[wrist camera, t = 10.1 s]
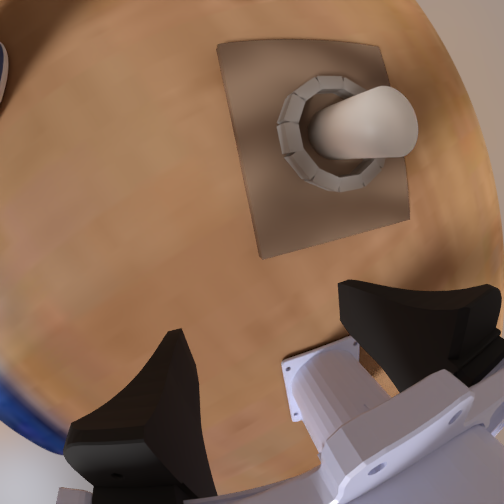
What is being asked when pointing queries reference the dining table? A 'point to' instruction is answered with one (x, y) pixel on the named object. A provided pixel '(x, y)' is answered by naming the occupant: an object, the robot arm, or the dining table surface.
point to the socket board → (306, 142)
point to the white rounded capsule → (365, 126)
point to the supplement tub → (3, 69)
